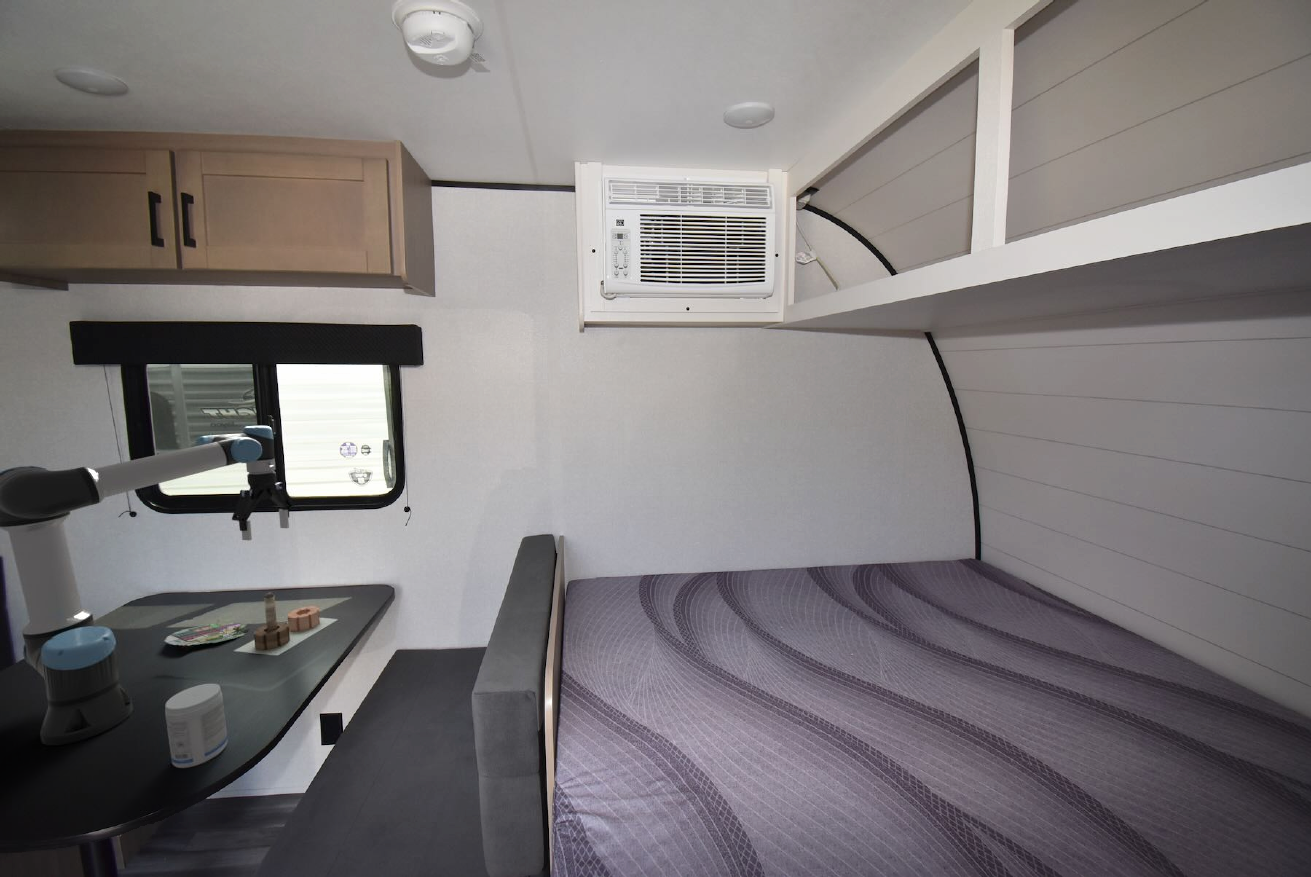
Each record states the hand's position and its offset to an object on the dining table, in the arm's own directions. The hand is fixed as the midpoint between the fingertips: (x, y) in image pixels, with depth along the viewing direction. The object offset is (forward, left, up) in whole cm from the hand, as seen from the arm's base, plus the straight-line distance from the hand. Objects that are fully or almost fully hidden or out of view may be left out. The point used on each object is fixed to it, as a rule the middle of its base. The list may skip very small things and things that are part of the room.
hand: (266, 533), depth 166 cm
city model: (-7, +16, -35) cm, 39 cm away
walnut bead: (-9, -9, -34) cm, 36 cm away
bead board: (-3, -9, -35) cm, 36 cm away
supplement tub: (-52, -35, -35) cm, 72 cm away
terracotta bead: (+3, -9, -34) cm, 35 cm away
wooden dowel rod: (-9, -9, -34) cm, 36 cm away
